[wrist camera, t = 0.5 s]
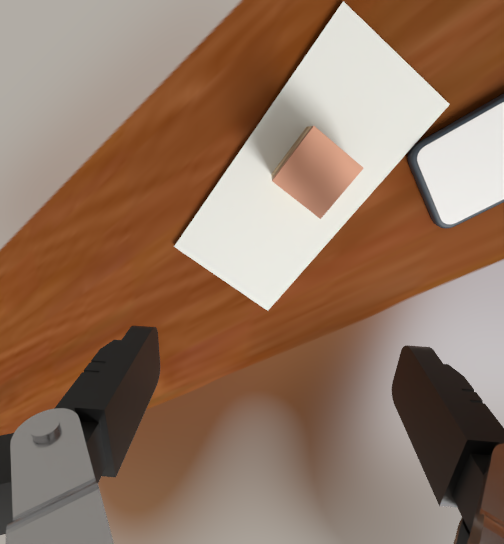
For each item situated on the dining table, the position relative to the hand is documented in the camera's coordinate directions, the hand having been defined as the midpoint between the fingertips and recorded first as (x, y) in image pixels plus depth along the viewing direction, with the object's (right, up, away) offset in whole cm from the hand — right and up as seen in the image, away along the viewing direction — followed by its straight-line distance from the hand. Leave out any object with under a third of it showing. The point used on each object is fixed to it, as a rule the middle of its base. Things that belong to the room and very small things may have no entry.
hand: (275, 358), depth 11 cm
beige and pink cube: (+4, +12, +20) cm, 24 cm away
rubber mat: (+4, +11, +21) cm, 24 cm away
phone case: (+22, +14, +19) cm, 32 cm away
